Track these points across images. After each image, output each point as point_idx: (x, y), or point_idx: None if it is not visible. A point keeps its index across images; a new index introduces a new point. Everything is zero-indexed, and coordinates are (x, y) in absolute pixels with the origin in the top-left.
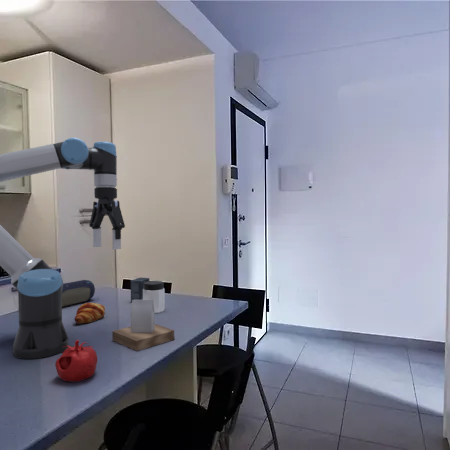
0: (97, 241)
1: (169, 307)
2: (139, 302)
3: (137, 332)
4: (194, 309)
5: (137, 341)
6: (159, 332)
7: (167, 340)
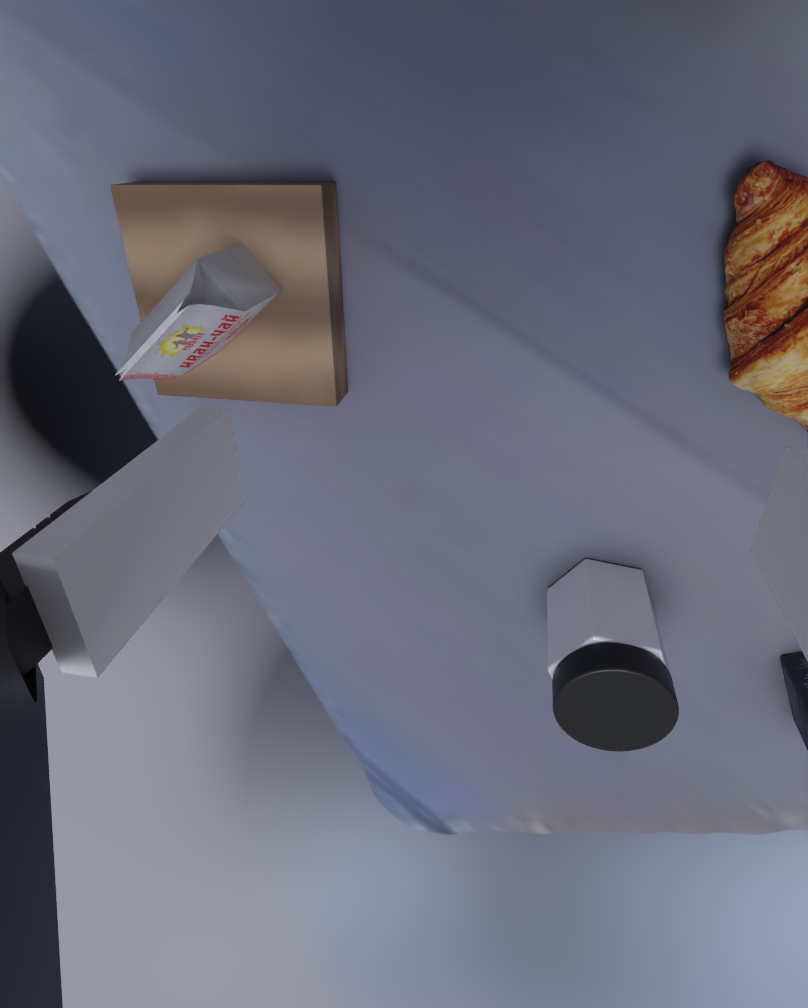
0: (797, 547)
1: None
2: (161, 321)
3: None
4: (467, 691)
5: (113, 189)
6: None
7: None
